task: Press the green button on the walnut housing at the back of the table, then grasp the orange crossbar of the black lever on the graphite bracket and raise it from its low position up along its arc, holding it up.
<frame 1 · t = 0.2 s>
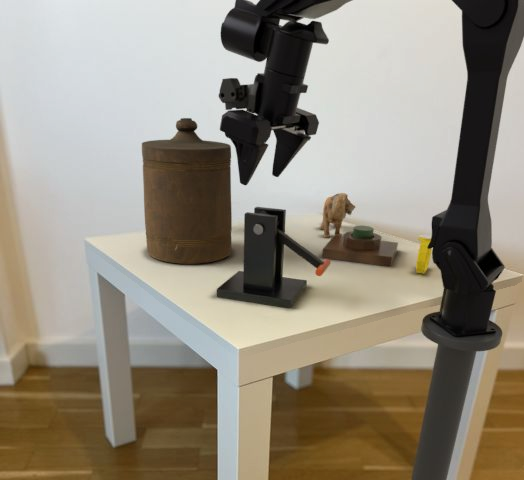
hand: (259, 180, 85), 14 cm above the table, tool pointing down, fingers open, 9 cm apart
wooden container: (189, 253, 97), on the table
lever: (291, 244, 76), point 8 cm above the table, hinge at -30.0°
watch: (421, 272, 92), on the table
bracket: (262, 292, 81), on the table
button box: (360, 254, 99), on the table
button: (363, 232, 98), point 4 cm above the table, slide at 0.1 cm
lion figurine: (333, 234, 113), on the table
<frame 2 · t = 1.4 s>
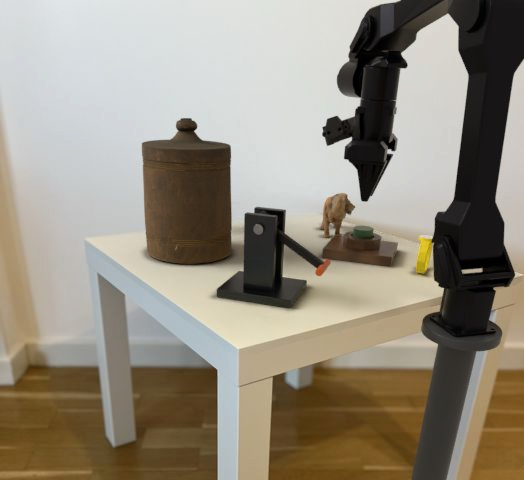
hand: (366, 198, 95), 10 cm above the table, tool pointing down, fingers open, 5 cm apart
nothing on the table moved.
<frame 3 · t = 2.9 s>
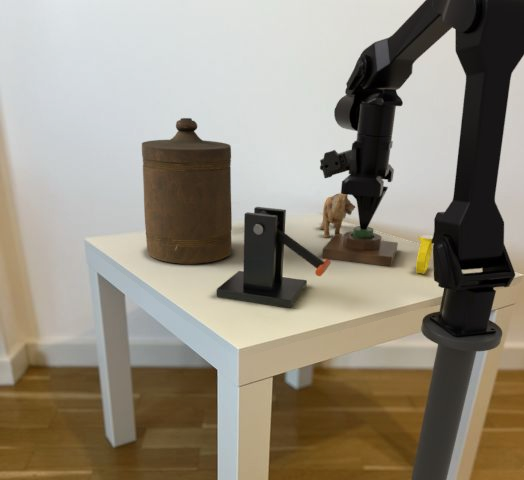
hand: (363, 228, 97), 5 cm above the table, tool pointing down, fingers closed, pressing on button
button: (362, 233, 98), point 4 cm above the table, slide at 0.0 cm, touching gripper
everything else where it was.
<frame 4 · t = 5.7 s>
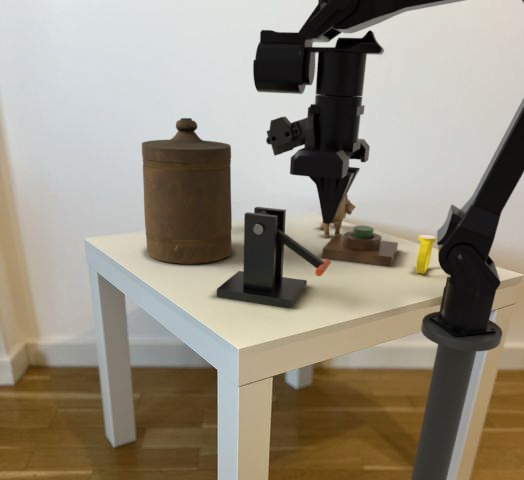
hand: (327, 223, 74), 11 cm above the table, tool pointing down, fingers closed
button: (363, 232, 98), point 4 cm above the table, slide at 0.1 cm
everything else where it was.
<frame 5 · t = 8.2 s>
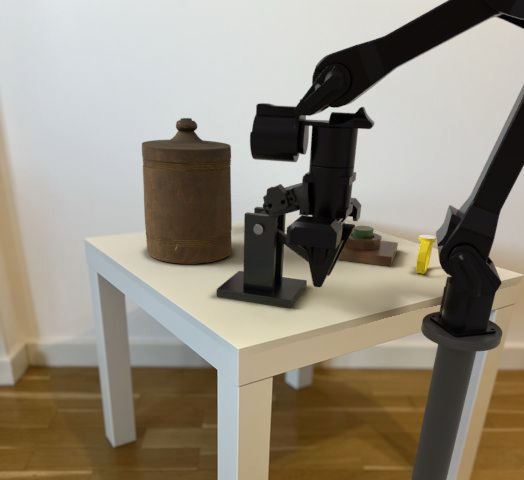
hand: (321, 280, 77), 3 cm above the table, tool pointing down, fingers closed on lever, 5 cm apart
lever: (291, 244, 76), point 8 cm above the table, hinge at -30.0°, touching gripper
everything else where it was.
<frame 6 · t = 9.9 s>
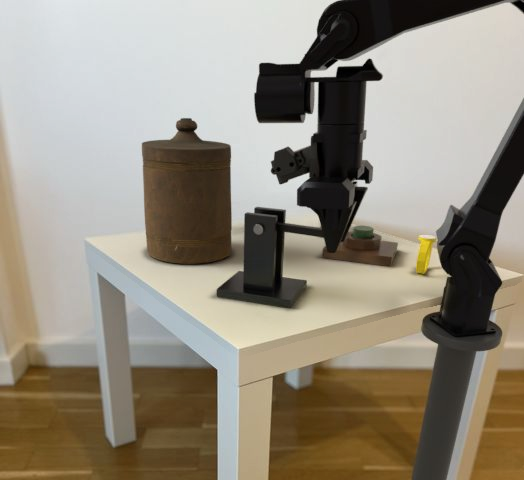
hand: (335, 246, 74), 8 cm above the table, tool pointing down, fingers closed on lever, 5 cm apart
lever: (296, 229, 75), point 10 cm above the table, hinge at -1.5°, touching gripper
everything else where it was.
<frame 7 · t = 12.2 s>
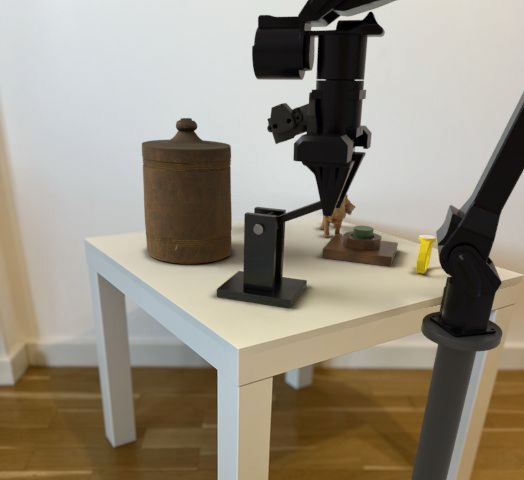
hand: (331, 211, 72), 13 cm above the table, tool pointing down, fingers closed on lever, 5 cm apart
lever: (294, 214, 74), point 12 cm above the table, hinge at 24.4°, touching gripper
everything else where it was.
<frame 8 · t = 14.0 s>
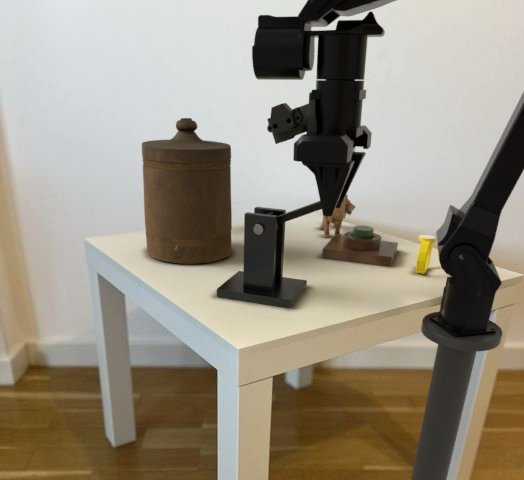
hand: (331, 211, 72), 13 cm above the table, tool pointing down, fingers closed on lever, 5 cm apart
lever: (294, 214, 74), point 12 cm above the table, hinge at 24.4°, touching gripper
everything else where it was.
at the end: lever at +24° (first picture: -30°); button pushed in 1.1 cm at the most during the clip, back to where it started at the end; button slide at 0.1 cm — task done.
